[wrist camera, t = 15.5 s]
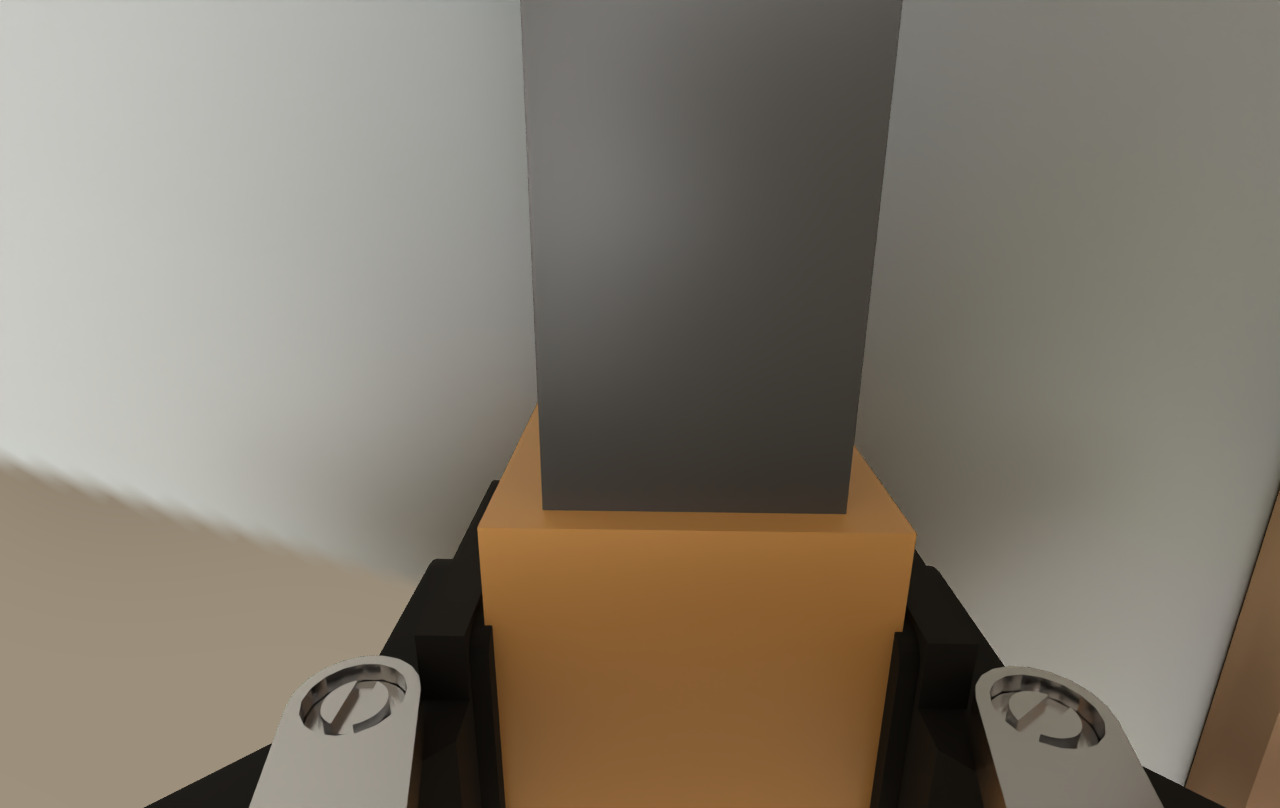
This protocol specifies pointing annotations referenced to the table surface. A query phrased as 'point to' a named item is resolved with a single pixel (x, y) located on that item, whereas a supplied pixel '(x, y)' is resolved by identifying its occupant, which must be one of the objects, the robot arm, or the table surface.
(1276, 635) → the pad
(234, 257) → the table surface
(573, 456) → the grey and orange bar
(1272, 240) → the table surface
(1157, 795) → the robot arm
